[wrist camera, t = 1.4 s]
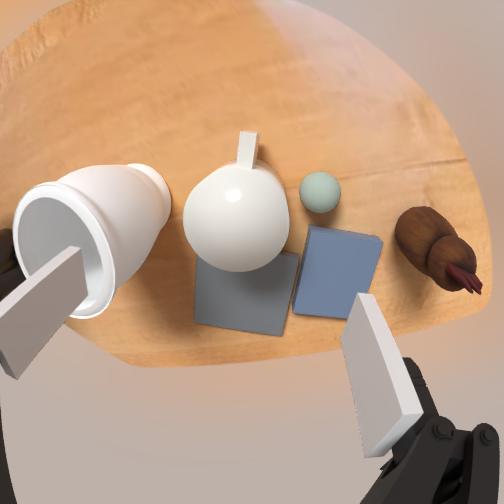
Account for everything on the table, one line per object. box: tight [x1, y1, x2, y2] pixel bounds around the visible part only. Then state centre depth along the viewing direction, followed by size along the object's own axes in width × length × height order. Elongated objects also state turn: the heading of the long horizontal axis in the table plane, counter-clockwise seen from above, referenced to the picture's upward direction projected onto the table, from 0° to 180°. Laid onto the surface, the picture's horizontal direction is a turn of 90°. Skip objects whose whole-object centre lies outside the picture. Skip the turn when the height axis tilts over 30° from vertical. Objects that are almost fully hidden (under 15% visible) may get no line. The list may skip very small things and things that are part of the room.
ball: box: [299, 171, 341, 213], centre depth 27 cm, size 4×4×4 cm
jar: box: [13, 164, 171, 319], centre depth 24 cm, size 11×10×15 cm
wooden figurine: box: [395, 206, 483, 295], centre depth 23 cm, size 7×6×15 cm
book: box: [292, 225, 383, 319], centre depth 32 cm, size 8×10×2 cm
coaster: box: [194, 251, 300, 336], centre depth 34 cm, size 11×11×1 cm
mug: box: [183, 131, 290, 272], centre depth 25 cm, size 8×11×9 cm
